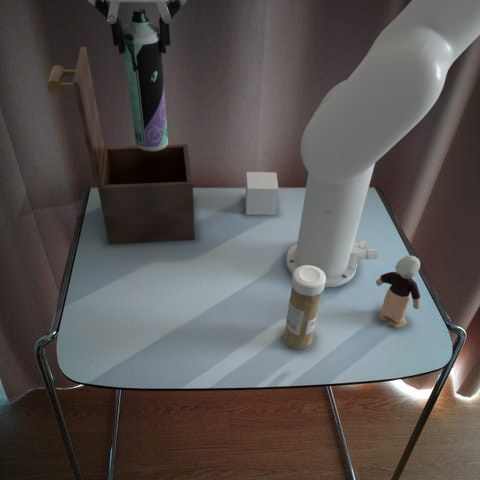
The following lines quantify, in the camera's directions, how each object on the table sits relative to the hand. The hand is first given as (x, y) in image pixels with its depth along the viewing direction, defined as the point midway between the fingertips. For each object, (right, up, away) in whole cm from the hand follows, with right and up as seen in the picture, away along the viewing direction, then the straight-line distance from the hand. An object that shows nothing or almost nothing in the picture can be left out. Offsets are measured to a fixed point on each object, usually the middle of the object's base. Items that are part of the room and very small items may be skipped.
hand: (142, 49), depth 73 cm
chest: (-3, -21, +23) cm, 31 cm away
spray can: (-1, -10, +11) cm, 15 cm away
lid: (-10, -7, +7) cm, 14 cm away
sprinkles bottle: (+23, -43, +4) cm, 49 cm away
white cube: (+19, -17, +28) cm, 38 cm away
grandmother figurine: (+39, -40, +8) cm, 56 cm away
